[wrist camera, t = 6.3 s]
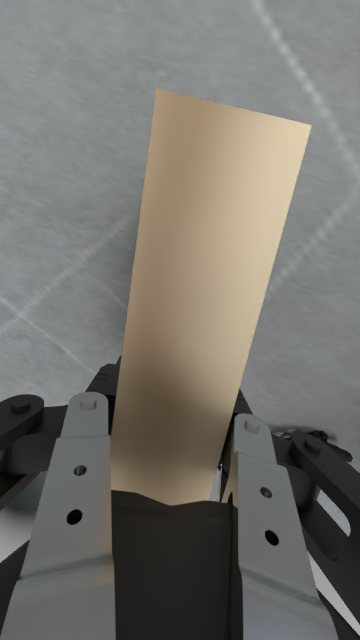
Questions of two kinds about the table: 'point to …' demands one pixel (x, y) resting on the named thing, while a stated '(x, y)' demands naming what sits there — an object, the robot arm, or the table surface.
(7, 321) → the table surface
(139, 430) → the plank
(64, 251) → the table surface
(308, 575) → the robot arm
